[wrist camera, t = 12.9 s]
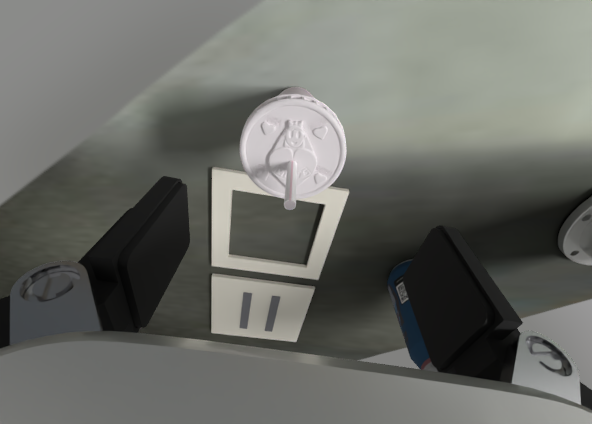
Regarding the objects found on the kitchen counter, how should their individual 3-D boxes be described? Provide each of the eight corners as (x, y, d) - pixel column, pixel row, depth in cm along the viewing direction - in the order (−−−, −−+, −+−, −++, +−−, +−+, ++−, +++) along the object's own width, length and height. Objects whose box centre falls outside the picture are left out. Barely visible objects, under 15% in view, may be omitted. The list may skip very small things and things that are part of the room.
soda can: (449, 270, 36) (505, 366, 26) (406, 296, 39) (442, 390, 29) (416, 246, 33) (464, 342, 23) (373, 276, 36) (400, 371, 27)
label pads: (348, 189, 28) (349, 192, 28) (296, 339, 46) (296, 342, 45) (213, 166, 27) (211, 169, 27) (212, 330, 44) (211, 333, 44)
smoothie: (259, 142, 26) (225, 242, 14) (258, 65, 22) (211, 119, 10) (327, 146, 26) (347, 249, 14) (337, 71, 22) (376, 130, 11)
